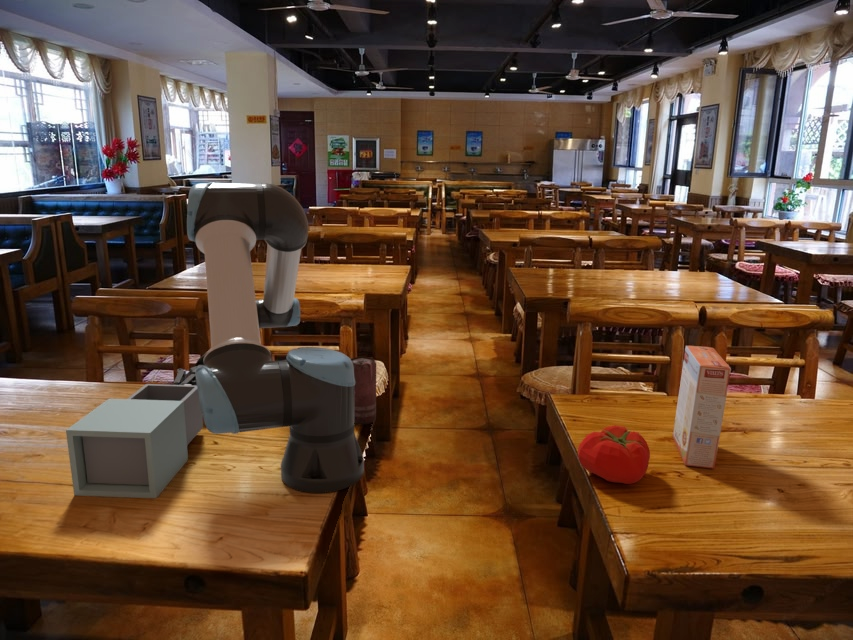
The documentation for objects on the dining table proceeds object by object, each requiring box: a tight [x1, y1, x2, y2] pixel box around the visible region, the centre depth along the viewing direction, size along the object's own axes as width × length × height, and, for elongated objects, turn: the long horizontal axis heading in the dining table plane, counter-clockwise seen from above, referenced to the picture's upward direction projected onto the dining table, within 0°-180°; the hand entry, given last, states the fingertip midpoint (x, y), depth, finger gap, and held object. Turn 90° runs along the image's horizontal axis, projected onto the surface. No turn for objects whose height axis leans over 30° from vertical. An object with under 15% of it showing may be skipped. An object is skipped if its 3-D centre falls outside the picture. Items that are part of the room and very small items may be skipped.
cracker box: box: [672, 345, 732, 469], centre depth 127 cm, size 14×6×21 cm, turn 168°
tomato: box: [577, 425, 651, 485], centre depth 117 cm, size 14×13×9 cm
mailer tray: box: [82, 383, 204, 485], centre depth 119 cm, size 24×11×9 cm, turn 179°
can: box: [350, 356, 377, 426], centre depth 139 cm, size 6×6×14 cm
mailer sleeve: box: [65, 398, 189, 499], centre depth 113 cm, size 14×14×12 cm
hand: (176, 401), depth 132 cm, fingers closed
